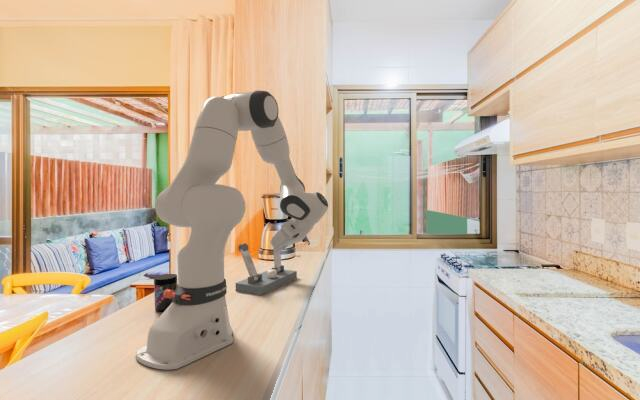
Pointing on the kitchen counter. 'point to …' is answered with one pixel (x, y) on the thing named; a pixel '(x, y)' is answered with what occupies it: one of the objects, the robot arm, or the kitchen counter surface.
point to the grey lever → (248, 261)
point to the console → (266, 282)
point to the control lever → (277, 259)
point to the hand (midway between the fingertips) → (279, 249)
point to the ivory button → (272, 273)
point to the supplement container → (160, 286)
